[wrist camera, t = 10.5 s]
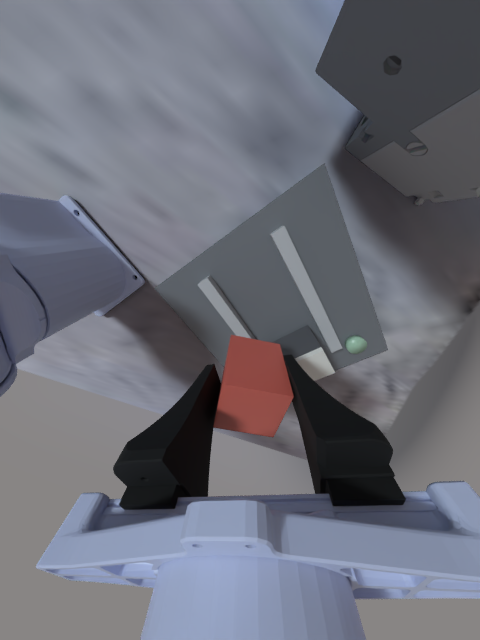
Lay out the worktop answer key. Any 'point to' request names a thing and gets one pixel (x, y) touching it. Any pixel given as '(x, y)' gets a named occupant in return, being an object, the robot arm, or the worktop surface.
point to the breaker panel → (282, 280)
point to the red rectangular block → (253, 388)
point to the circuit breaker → (412, 91)
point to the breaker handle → (306, 352)
